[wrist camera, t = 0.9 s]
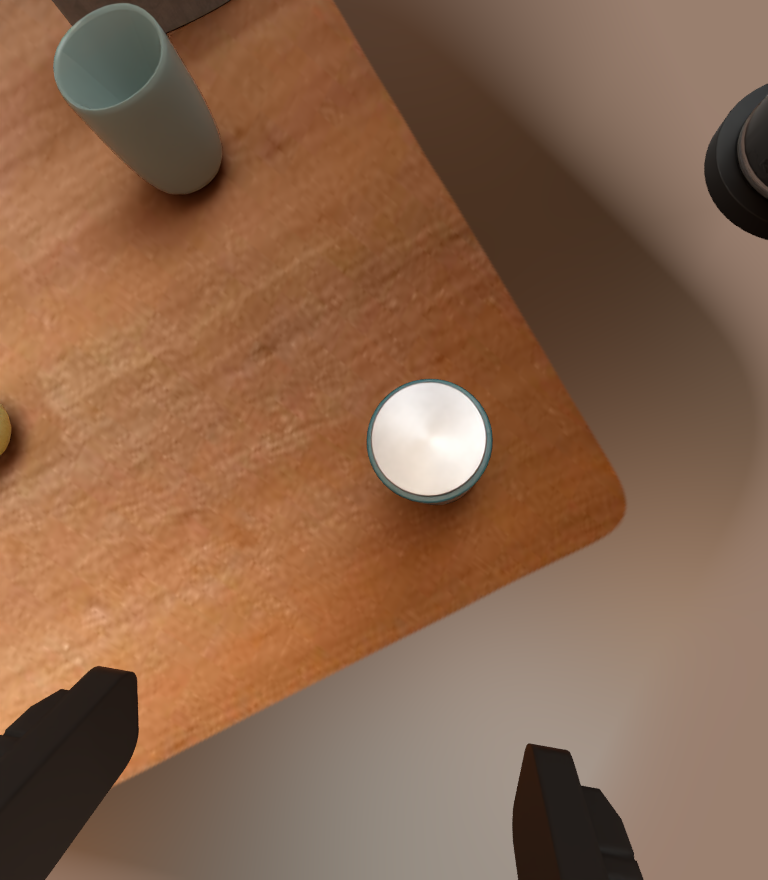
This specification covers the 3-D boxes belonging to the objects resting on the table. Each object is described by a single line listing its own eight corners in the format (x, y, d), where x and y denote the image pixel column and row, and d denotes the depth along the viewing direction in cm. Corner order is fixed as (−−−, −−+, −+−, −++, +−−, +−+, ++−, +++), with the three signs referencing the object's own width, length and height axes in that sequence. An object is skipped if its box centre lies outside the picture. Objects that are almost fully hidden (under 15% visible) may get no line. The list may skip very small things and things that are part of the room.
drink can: (428, 403, 34) (417, 351, 23) (497, 454, 33) (520, 426, 22) (376, 469, 34) (339, 449, 23) (443, 523, 33) (439, 530, 22)
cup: (135, 156, 41) (35, 45, 31) (213, 108, 40) (136, -20, 31) (170, 227, 39) (76, 134, 30) (251, 178, 39) (183, 67, 29)
